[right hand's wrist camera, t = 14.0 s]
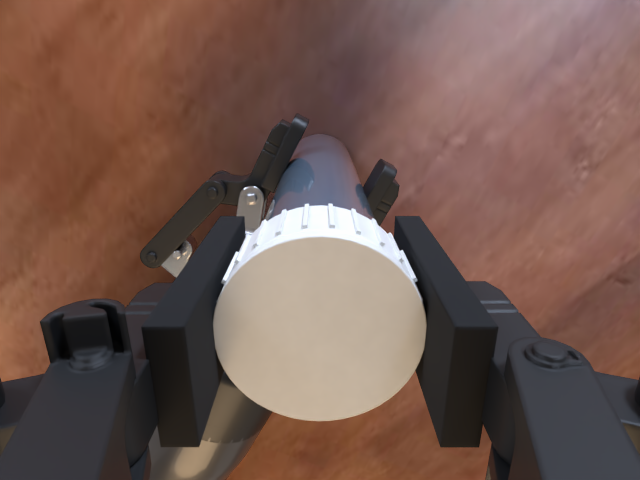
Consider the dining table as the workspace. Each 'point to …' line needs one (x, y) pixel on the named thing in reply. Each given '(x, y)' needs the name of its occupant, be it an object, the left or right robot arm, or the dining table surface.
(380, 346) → the lid
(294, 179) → the bottle
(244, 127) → the dining table surface
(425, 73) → the dining table surface
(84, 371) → the right robot arm
